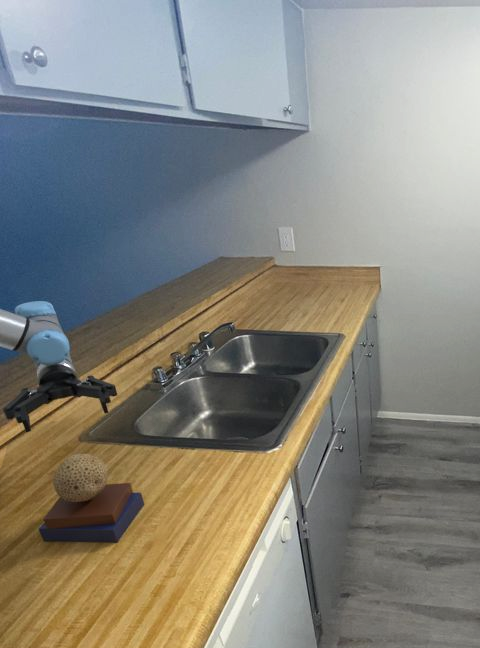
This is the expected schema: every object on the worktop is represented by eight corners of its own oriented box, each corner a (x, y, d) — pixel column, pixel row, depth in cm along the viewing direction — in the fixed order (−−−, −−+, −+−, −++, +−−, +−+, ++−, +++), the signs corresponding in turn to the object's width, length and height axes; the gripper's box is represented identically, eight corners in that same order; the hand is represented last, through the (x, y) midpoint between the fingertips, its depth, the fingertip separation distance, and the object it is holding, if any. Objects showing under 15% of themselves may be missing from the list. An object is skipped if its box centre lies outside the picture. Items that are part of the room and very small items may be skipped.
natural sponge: (115, 506, 92) (101, 465, 87) (60, 521, 87) (43, 479, 83) (113, 480, 98) (100, 440, 94) (62, 493, 94) (46, 452, 90)
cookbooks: (43, 541, 90) (33, 519, 88) (78, 502, 100) (70, 481, 98) (117, 542, 91) (109, 520, 88) (144, 504, 101) (138, 482, 98)
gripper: (120, 380, 120) (138, 415, 106) (-4, 406, 107) (-4, 450, 92) (113, 353, 117) (130, 385, 102) (-16, 376, 103) (-18, 417, 88)
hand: (67, 416), depth 97 cm, fingers open, 13 cm apart
